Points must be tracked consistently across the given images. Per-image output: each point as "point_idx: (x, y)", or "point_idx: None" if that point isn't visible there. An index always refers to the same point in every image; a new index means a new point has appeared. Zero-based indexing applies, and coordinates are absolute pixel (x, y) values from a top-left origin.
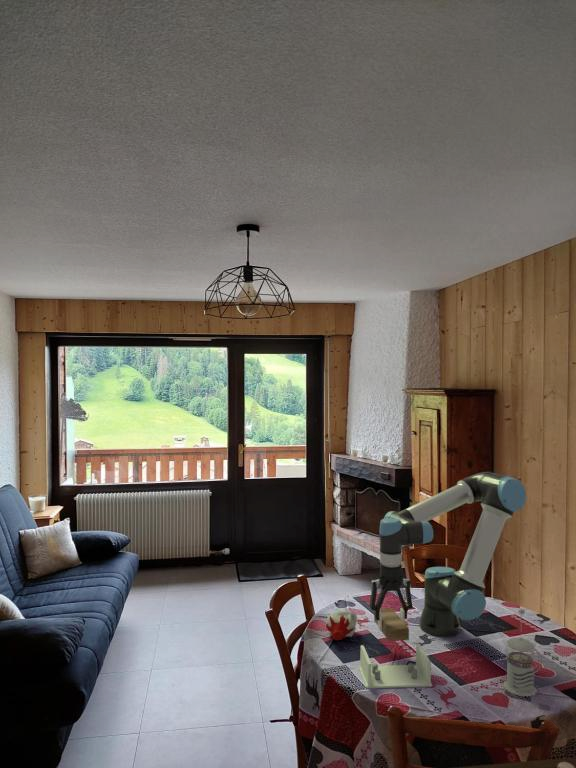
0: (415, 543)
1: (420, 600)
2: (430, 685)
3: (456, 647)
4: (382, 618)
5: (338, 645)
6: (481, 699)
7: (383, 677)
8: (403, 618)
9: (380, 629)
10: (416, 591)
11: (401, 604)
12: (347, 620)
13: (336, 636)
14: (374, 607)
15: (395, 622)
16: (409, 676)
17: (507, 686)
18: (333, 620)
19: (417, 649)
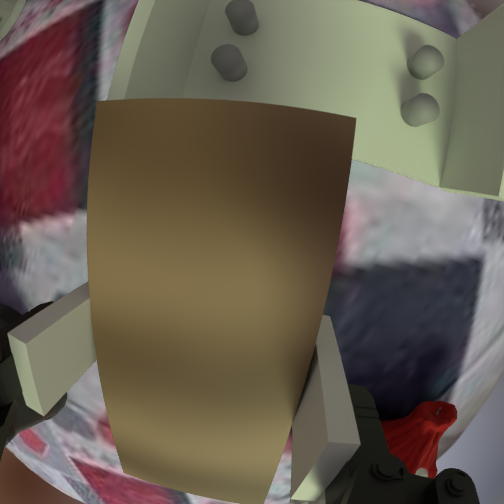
0: None
1: (56, 466)
2: None
3: (4, 236)
4: (276, 406)
5: (422, 386)
6: None
7: (390, 64)
8: (68, 301)
9: (325, 320)
10: (63, 486)
11: (6, 429)
12: None
13: (441, 410)
14: (444, 500)
15: (174, 280)
16: (262, 36)
17: (18, 3)
18: (429, 477)
19: (141, 80)
